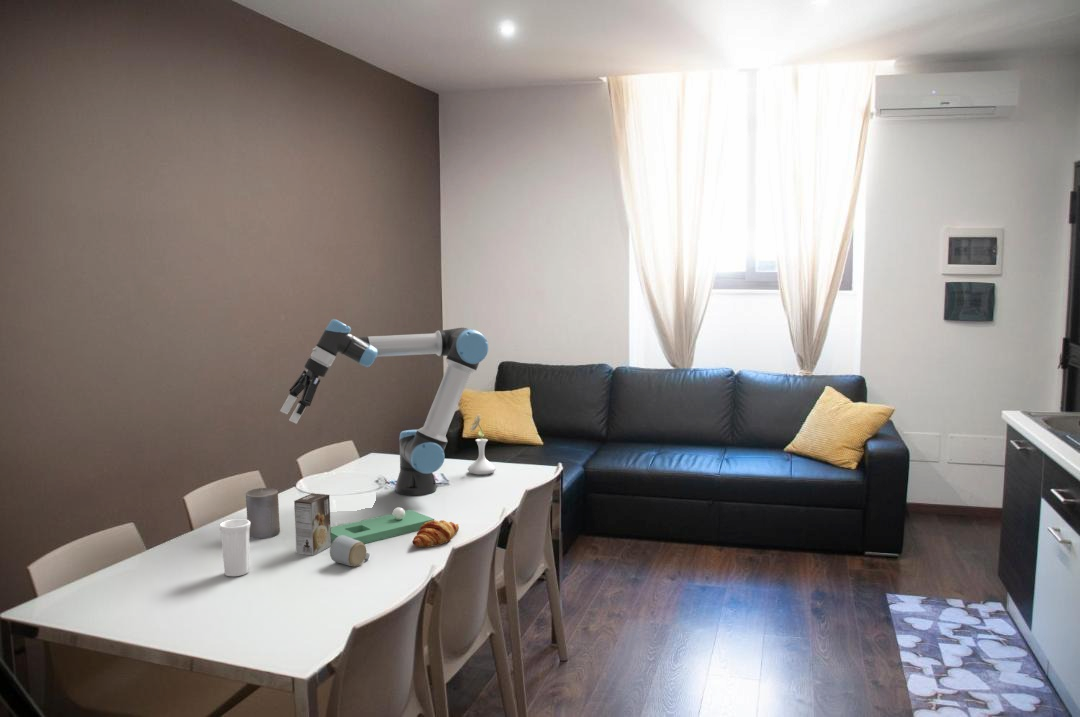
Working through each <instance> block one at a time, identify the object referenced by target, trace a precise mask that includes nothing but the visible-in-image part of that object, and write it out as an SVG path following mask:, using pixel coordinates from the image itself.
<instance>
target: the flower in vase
mask: <svg viewBox="0 0 1080 717" xmlns="http://www.w3.org/2000/svg"><path fill="white" fill-rule="evenodd" d="M481 419H482V414H480V413H478V414H477V415H476V417H474V420H473V422H472V423H471V427H470V428H469V430H470V433H471V432H474V431H475V430H476V429H477V428H478V427H479V428H480V430H479V431H478V432H477V435H478V436H479V437H480V438H477V439H475V440H474V441H475V442H476V444H477V446H478V457H477V459H475V461H473V462H472V463H471V464H470V465H469V466H468V468H467V471H468V472H469V473H471V474H473V475H482V476H483V475H490V474H492V473H494V472H495V471H496V467H495V465H494V464H493V463H492V462H490V461H489V460H488V459H487V458H486V456H485V448H486V445H487V442H488V441H489V439H487V438H484V436H485V434H484V433H483V430H482V429H483V428H482V427H481V425H480V422H481Z"/></svg>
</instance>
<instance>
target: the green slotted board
mask: <svg viewBox="0 0 1080 717" xmlns="http://www.w3.org/2000/svg"><path fill="white" fill-rule="evenodd" d="M404 511H405V516H404V518H403V519H401V520H397V519H395V518H394V517H393V513H390V514H384V515H380V516H377V517H373V518H372V517H371V518H367V519H363V520H359V521H354V522H349V523H344V524H341V525H335V526H330V527H331V542H333V541H334V540H335V538H337V537H338V536H341V535H344V536H347V537H350V538H352V539H355V540H358V541H360V542H362V543H363V544H364V545H365V544H367V543H368V544H369V543H373V542H377V541H381V540H384V539H385V540H386V539H389V538H392V537H397V536H401V535H406V534H409V533H414V532H418V531H419V530H420V527H421V526H422V525H423V524H424V523H426V522H429V521H433V520H435V518H432V517H430V516H428V515H425V514H422V513H420V512H418V511H415V510H413V509H407V510H404Z"/></svg>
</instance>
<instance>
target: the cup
mask: <svg viewBox="0 0 1080 717" xmlns="http://www.w3.org/2000/svg"><path fill="white" fill-rule="evenodd" d="M250 523H251V522H250V521H249V520H247V518H246V519H245V518H233V519H228V520H225V521H224V520H223V522H220V524H219V526H218V527H219V531H220V537H221V547H222V559H223V569H224V575H225V576H228V577H240V576H244V575H246V574H248V573H249V572H250V537H249V529H250Z"/></svg>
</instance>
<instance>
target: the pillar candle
mask: <svg viewBox="0 0 1080 717" xmlns="http://www.w3.org/2000/svg"><path fill="white" fill-rule="evenodd" d="M245 502H246V503H245V504H246V520H249V521H250V522H251V523H250V529H249V539H250V538H251V539H256V540H257V539H270V538H273V537H276V536H278V535H279V534H280V532H281V525H280V507H279V505H280V504H279V491H278V489H276V488H272V487H261V488H260V487H259V488H254V489H251V490H248V491H247V492H246V493H245Z"/></svg>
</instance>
